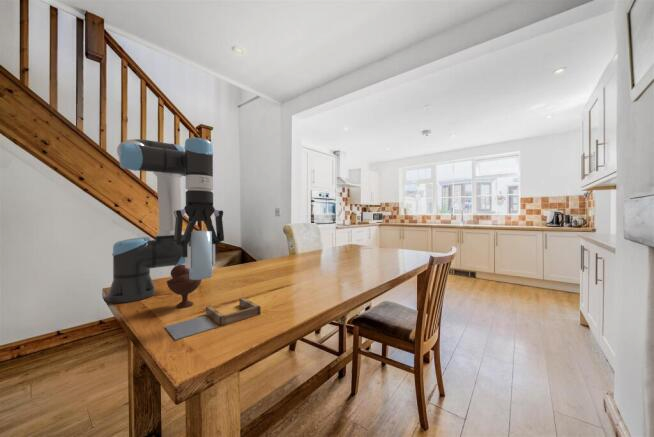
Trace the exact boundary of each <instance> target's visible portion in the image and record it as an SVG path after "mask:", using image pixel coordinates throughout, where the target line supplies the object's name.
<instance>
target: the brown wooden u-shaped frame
mask: <svg viewBox="0 0 654 437" xmlns="http://www.w3.org/2000/svg"><path fill="white" fill-rule="evenodd" d="M238 304H239V306H240V307H242V308H244V309H241V310H238V311H235V312H231V313H227V314H222V312H220V311H218V310H217V309H215V308H214V307H212V306H211V305H207V306H205V314H206V316H208V317H209V318H211V319H212V320H213V321H214V322H216V323H217V324H218V325H219V326H221V327H223V326H226V325H230V324H232V323H236V322H240V321H243V320H245V319H249V318H252V317H255V316H257V315H258V316H260V315H261V312H262V311H261V305H258V304H257V303H254V302H252V301H251V300H249V299H246V298H244V297H239V302H238Z"/></svg>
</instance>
